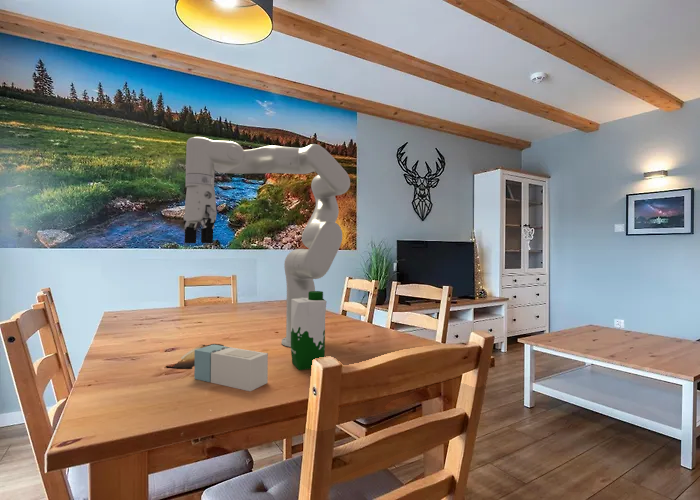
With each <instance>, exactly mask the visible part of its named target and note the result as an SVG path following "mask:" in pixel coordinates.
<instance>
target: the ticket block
mask: <svg viewBox="0 0 700 500" xmlns="http://www.w3.org/2000/svg"><path fill="white" fill-rule="evenodd" d="M226 347H227V348H224V349H222V350H218V351H214V352H212V353H211V382H210V383H212V384H216V385H220V386H224V387H230V388H234V389H238V390H243V391H247V392H252V391H254V390H256V389H258V388H261V387H263V386H264V385H266V384H268V377H269V375H268V369H269V367H268V362H269V357H268V355H269V353H268V352H262V351H261V352H260V351H255V350H250V349H249V350H248V349H243V348H239V347H238V348H237V347H231V346H226Z"/></svg>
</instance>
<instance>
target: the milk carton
mask: <svg viewBox="0 0 700 500" xmlns="http://www.w3.org/2000/svg"><path fill="white" fill-rule="evenodd" d="M308 297H309V298H300V299H291V347H290V351H291V352H290V353H291V363H292V364H293V365H294V366H295V368H296V369H297V370H298V371H304V370H312V369H311V365H312V360H313V359H315V358H319V357H324V356H325V354H326V311H327V300H326V299H324V292H323V291H321V290H315V291H310V292H309V296H308Z"/></svg>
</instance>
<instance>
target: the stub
mask: <svg viewBox="0 0 700 500" xmlns="http://www.w3.org/2000/svg"><path fill="white" fill-rule="evenodd" d="M209 345H210V344H209ZM227 347H228V346H225V345H224V346H220V345H210V346H207V347H203V348H200V349H196V350H195V366H194V376H193V378H194V380H197V381H202V382H207V383H211V353H212V352H214V351H218V350H222V349H224V348H227Z"/></svg>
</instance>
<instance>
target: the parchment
mask: <svg viewBox="0 0 700 500" xmlns="http://www.w3.org/2000/svg"><path fill="white" fill-rule="evenodd" d="M210 345H220V346H225V345H224V344H221V343H210V344H202V345H198V346H196V347H194V348H192V349H191V350H189V351H188V352H187V353H184V355H182V356H181V357H180V361H178V362H177V363H176V362H175V364H174V365H173V366H171V368H176V369H177V370H178V369H191V370H192V369H193V367H194V368H195V350H196V349H200V348H203V347H207V346H210ZM166 368H169V365H166Z"/></svg>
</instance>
